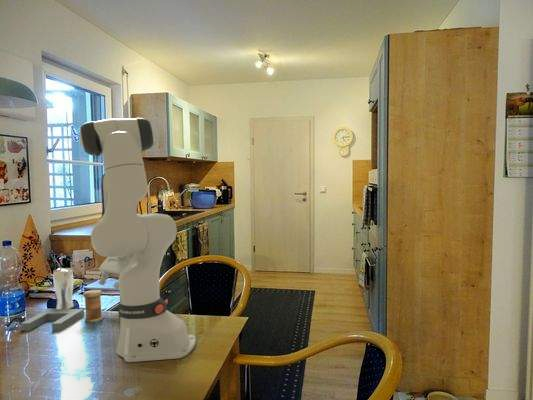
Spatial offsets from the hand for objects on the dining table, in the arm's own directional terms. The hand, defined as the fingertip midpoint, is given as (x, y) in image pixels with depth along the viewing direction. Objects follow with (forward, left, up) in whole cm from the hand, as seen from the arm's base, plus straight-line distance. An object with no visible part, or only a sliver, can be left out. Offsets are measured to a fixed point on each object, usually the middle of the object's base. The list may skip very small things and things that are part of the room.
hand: (108, 286), depth 143 cm
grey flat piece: (+16, +8, -11) cm, 21 cm away
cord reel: (+3, +5, -11) cm, 12 cm away
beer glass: (+22, -8, -11) cm, 26 cm away
